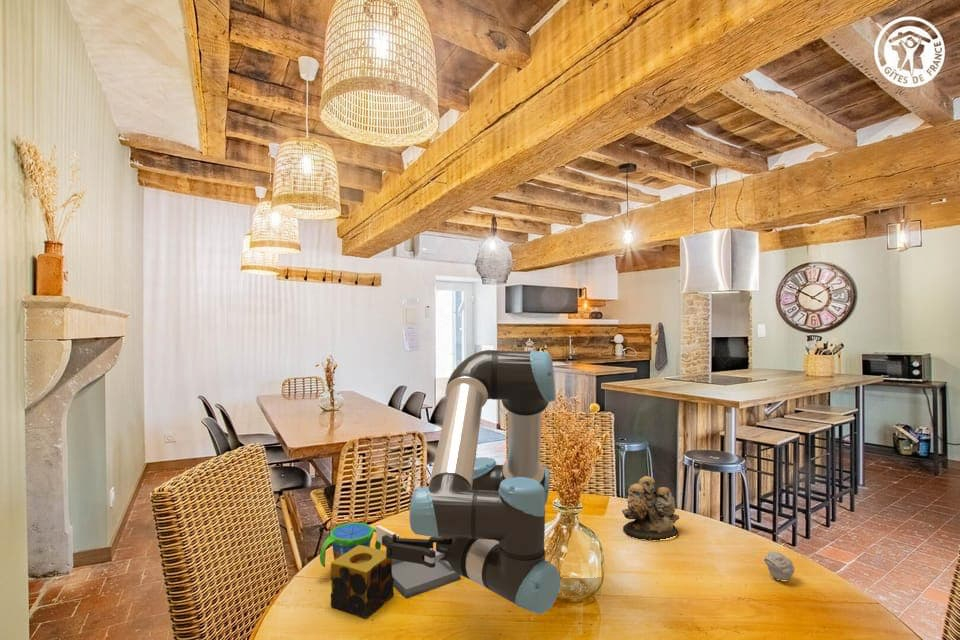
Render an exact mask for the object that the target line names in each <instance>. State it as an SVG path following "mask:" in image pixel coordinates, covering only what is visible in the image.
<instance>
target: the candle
mask: <svg viewBox="0 0 960 640" xmlns="http://www.w3.org/2000/svg"><path fill="white" fill-rule="evenodd" d="M392 564H393V559H389V558H386V550H382V549H380V550H379V549H376V548H375V547H371V546H370V547H367V546H362V545H358V546H356V547H355V548H353V549H351V550H350V551H348V552H347V553H345V554H344V555H342V556H340V557H339V558H337V559H336V560H334V559H333V561H331V564H330V579H331V583H330V584H331V593H330V607H332V608H334V609H337V610H340V611H342V612H345V613H348V614H351V615H355V616H358V617H361V618H365V619H366V618H368V617H369V616H372V614H373V613H375V612H376V611H377V610H378V609H380V608H381V607H382V606H383V605H384V604H385V602H386V601H388V600H390V599H391V598H392V597H393V596H394V595H395V594H394V586H393V581H394V580H393V575H392Z"/></svg>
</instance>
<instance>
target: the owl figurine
mask: <svg viewBox="0 0 960 640" xmlns="http://www.w3.org/2000/svg"><path fill="white" fill-rule="evenodd" d="M638 480H639V481H638V482H637V483H634V484H631V485H630V486H629V488H628V490H627V493H628V496H627V498H626V499H627V508H624V509H621V510H622V511H621V512H622V514H623V515H624V518H625V519H628V520H631V521H629V522H626V524H625V525H623V528H622V531H623V532H624V533H625V534H626V535H628V536H629V537H630V536H631V537H630V538H632V537H634V538H633V539H635V538H638V539H646V540H648V541H651V540H660V539H666V538H670V537H673V536H676V535H677V534H678V533H680V532H679V529H678V528H677V527H676V526H675V525H674V524H675V523H676V521H678V520H679V519H680V516H679V515H678V514H675V513H676V503H675V498H674V496H672V491H671V490H670V488H668V487H665V486H660V487H658V488H657V489H656V490H655V488H654V486H655V484H656V480H655V479H654V478H653V477H652V476H649V475H645V476H642V477H641V478H640V479H638ZM638 539H637V540H638ZM646 540H645V541H646Z"/></svg>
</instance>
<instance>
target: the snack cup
mask: <svg viewBox="0 0 960 640" xmlns="http://www.w3.org/2000/svg"><path fill="white" fill-rule="evenodd" d="M329 533H330V534H329V536H328V537H327V538H326V539H325V541H324V542H323V544H322V546H321V547H320V553H319V561H320V562H319V563H320V564H321V567H322V568H326V555H327V554H326V553H327V550H326V549H327V548H328V547H329V546H330V545H331V546H332V555H333V561H334V560H336V559H337V558H339V557H340V556H342V555H344V554H345V553H347V552H348V551H350V550H351V549H353V548H355V547H356V546H358V545H362V546H367V547H371V542H372V539H373V536H374V533H376V527H375V528H374V527H373V526H371V525H369V524H366V523H363V522H349V523H348V522H347V523H343V524H339V525H338V526H336V527H334V528H332V529H331V531H330V532H329ZM374 548H375V549H379V550H381V548H382V543H380V542H378V541H376V540H375V544H374Z"/></svg>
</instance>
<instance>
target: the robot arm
mask: <svg viewBox="0 0 960 640" xmlns="http://www.w3.org/2000/svg"><path fill="white" fill-rule="evenodd" d="M447 380H448V381H447V383H446V388H445V393H444V394H445V399H446V401H447V403H446V408H445V413H444V416H443V421H442V425H441V430H440V435H439V440H438V444H437V448H436V453H435V457H434V461H433V465H432V470H431V473H430V479H429V485H428V486H424V487H417V488H415V490H414V491H413V493H412V495H411V499H410V506H409V527H410V529H411V531H412V532H413V533H414V534H415V535H419V536H426V537H428V539H425V538H423V539H422V538H409V537H408V538H407V537H406V538H405V537H404V538H403V537H400V534H397V533H396V532H393V531H392V530H389V529H387V528H386V527H384V526H382V525H376V526H375V529H376V532H375V542H376V541H378V542H380V543H381V546H384V547H385V551H386V558H389V559H395V560H400V561H406V562H412V563H417V564H423V565H425V566H427V567H430V568H433V567H435V562H436V561H438V560H439V559H440V560H443V561H447V562H448V563H449V564H450V566H451V567H452V569H453V570H454V571H455V572H456V573H458V574H460V575H461V576H462V577H463V578H466V579H468V580H470V581H472V582H474V583H476V584H478V585H479V586H482V587H483V588H486V589H487V590H488V591H491V592H492V593H494V594H497V595H498V596H500V597H501V598H504V599H505V600H507V601H508V602H511V603H512V604H514V605H516V606H517V607H518V608H523V609H524V610H527V611H529V612H531V613H534V614H538V615H539V614H540V615H541V614H544V613H546V612H548V611H549V610H551V608H552V607H553V606H554V605H555V602H556V600H557V599H558V596H559V593H560V590H561V575H560V574H559V569H558V568H557V566H555V565H554V564H552V563H551V562H550V561H548V560H546V549H545V539H546V538H545V532H546V530H545V529H546V528H545V527H546V514H547V513H546V504H547V502H548V499H549V489H550V471H549V468H547V466H544V464H543V462H542V461H541V460H540V459H541V442H542V441H541V440H542V419H543V412H544V411H545V410H546V409H547V408H548V406H549V403H551V402H554V401H556V397H557V396H556V386H555V383H556V382H555V375H554V363H553V358H552V355H551V354H550V353H549V352H546V351H537V350H535V349H534V350H533V349H532V350H502V349H500V350H494V349H485V350H481V351H478V352H475V353H472V354H471V355H470V356H468V357H467V358H465V359H464V360H463V361H462V362H460V363H459V365H457V367H456V368H454V370H453V371H452V373H451V375H450V376H449V378H448V379H447ZM488 400H495V401H496V400H499V401H501V404H502V406H503V407H504V409H505V410H506V411H507V459H506V460H505V461H504V463H503V464H497V462H496V460H495V458H493V457H488V456H487V457H485V456H484V457H477V450H478V443H479V435H480V434H479V433H480V426H481V417H482V409H483V407H484V406H485V405H486V404H487V401H488ZM434 543H435V550H434ZM433 550H434V551H433ZM435 551H436V552H435Z"/></svg>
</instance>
